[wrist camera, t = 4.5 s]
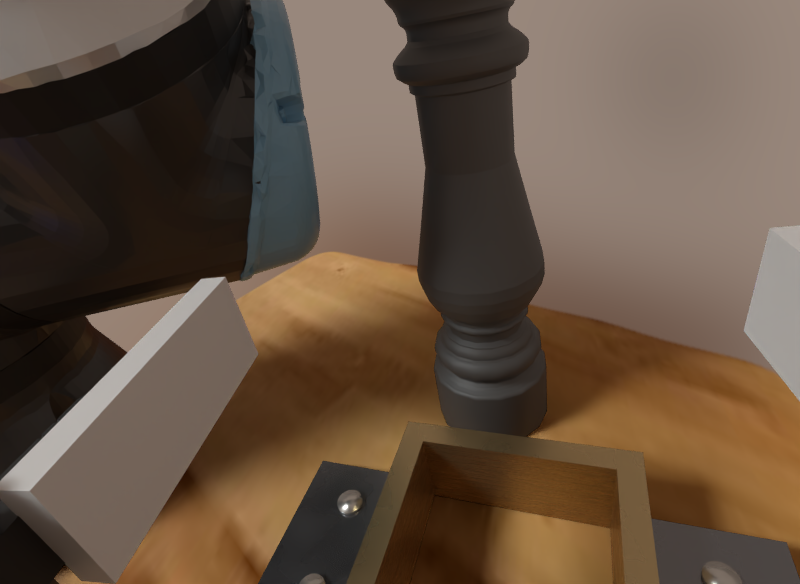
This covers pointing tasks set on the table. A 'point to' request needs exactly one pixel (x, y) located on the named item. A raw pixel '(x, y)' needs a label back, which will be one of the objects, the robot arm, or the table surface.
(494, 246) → the candle holder
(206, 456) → the table surface
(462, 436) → the square socket fixture
